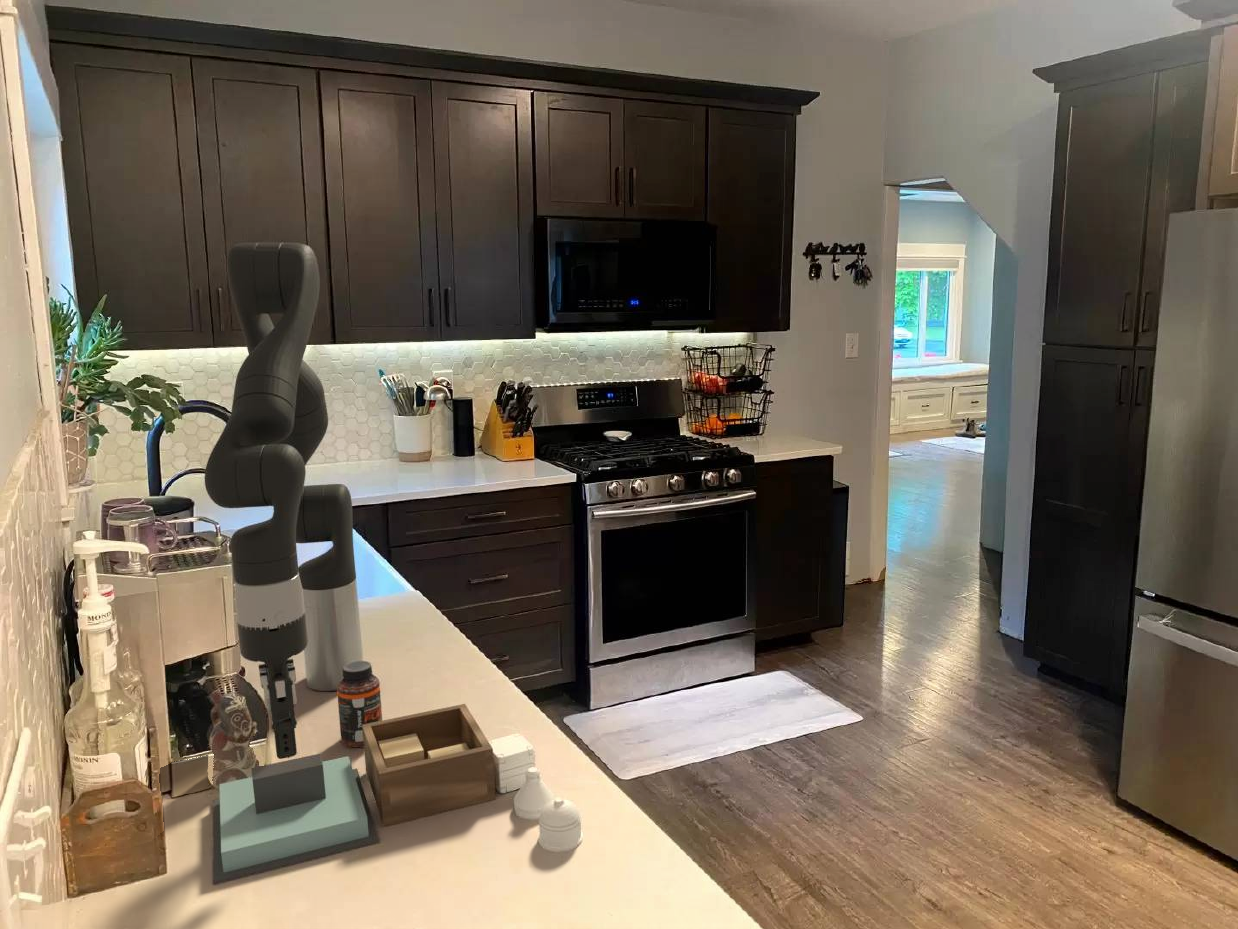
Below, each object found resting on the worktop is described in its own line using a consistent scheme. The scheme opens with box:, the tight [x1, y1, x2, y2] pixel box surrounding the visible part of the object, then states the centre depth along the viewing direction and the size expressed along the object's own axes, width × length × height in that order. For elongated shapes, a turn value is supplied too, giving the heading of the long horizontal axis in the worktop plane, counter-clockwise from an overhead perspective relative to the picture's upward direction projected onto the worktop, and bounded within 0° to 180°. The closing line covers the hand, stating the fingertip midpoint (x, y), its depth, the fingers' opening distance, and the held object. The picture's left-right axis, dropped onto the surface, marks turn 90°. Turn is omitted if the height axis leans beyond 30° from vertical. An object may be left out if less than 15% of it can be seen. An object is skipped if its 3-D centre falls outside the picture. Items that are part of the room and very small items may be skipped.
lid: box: [219, 753, 369, 873], centre depth 113 cm, size 16×16×7 cm
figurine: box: [208, 689, 259, 790], centre depth 124 cm, size 7×7×12 cm
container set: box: [488, 733, 584, 853], centre depth 115 cm, size 20×5×6 cm, turn 29°
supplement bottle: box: [336, 660, 383, 748], centre depth 133 cm, size 6×6×11 cm
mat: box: [212, 768, 380, 885], centre depth 114 cm, size 18×18×1 cm
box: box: [362, 703, 496, 828], centre depth 121 cm, size 14×14×7 cm
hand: (284, 739), depth 112 cm, fingers open, 8 cm apart
